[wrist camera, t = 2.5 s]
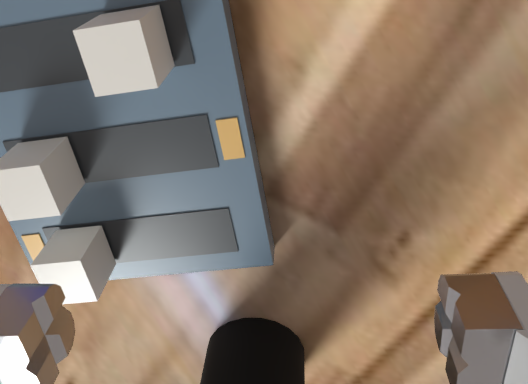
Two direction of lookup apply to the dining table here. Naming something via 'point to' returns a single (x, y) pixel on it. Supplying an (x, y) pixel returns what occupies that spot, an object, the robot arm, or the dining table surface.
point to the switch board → (141, 139)
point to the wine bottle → (254, 354)
